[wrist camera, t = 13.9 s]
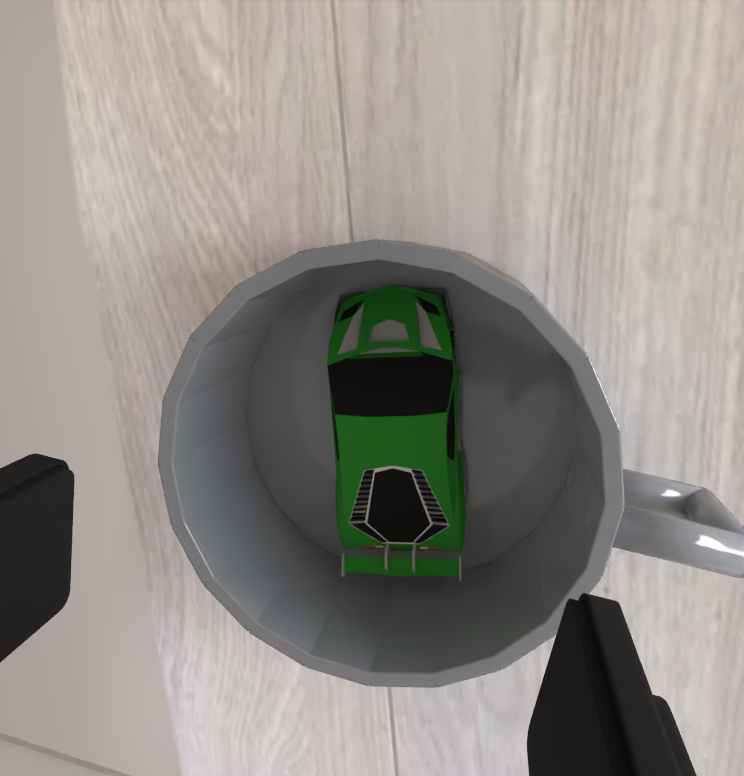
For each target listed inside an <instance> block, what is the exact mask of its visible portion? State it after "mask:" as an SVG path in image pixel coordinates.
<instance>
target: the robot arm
mask: <svg viewBox="0 0 744 776" xmlns="http://www.w3.org/2000/svg"><path fill="white" fill-rule="evenodd" d="M73 499H74V474H73V472H72V471H71V470H69V467H68V465H67V463H66V462H65V461H64V460H60V459H56V458H52V457H48V456H44V455H40V454H31V455H28V456H26V457H24V458H22V459H20V460H17V461H15V462H13V463H11V464H9V465H7V466H5V467H3V468H0V662H1V661H2V660H4V659H5V658H6V657H7V656H8V655H9V654H11V653H12V652H13V651H14V650H15V649H16V648H17V647H18V646H20V645H21V644H22V643H23V642H24V641H26V640H27V639H28V638H29V637H30V636H31V635H32V634H34V633H35V632H36V631H37V630H38V629H40V628H41V627H42V626H43V625H44V624H45V623H46V622H48V621H49V620H50V619H51V618H52V617H53V616H54V615H56V614H57V613H58V612H59V611H60V610H61V609H62V608H63V607H64V605H65V603H66V602H67V599H68V597H69V593H70V580H71V579H70V578H71V554H72V552H71V551H72V525H73ZM527 753H528V766H529V776H696V773H695V771H694V768H693V765H692V763H691V760H690V758H689V755H688V753H687V750H686V748H685V745H684V743H683V740H682V737H681V735H680V732H679V730H678V727H677V725H676V722H675V720H674V717H673V714H672V712H671V709H670V707H669V706H668V704H667V702H666V700H664V699H663V698H662V697H659V696H656V695H652V692H651V689H650V686H649V684H648V681H647V678H646V675H645V673H644V670H643V667H642V664H641V662H640V659H639V656H638V654H637V651H636V648H635V645H634V643H633V640H632V637H631V634H630V632H629V629H628V626H627V623H626V621H625V618H624V615H623V612H622V610H621V607H620V605H619V603H618V602H617V601H614V600H610V599H606V598H602V597H598V596H594V595H590V594H586V593H583V594H581V596H580V597H579V599H578V600H575V599H571V598H570V599H568V601H567V602H566V605H565V608H564V612H563V615H562V618H561V621H560V625H559V628H558V631H557V635H556V638H555V641H554V645H553V648H552V651H551V655H550V658H549V661H548V665H547V668H546V671H545V674H544V678H543V681H542V684H541V688H540V691H539V694H538V698H537V701H536V704H535V708H534V711H533V714H532V717H531V721H530V725H529V729H528V737H527ZM0 776H129V775H127V774H124V773H121V772H117V771H115V770H112V769H108V768H105V767H103V766H100V765H97V764H93V763H90V762H87V761H84V760H81V759H78V758H75V757H72V756H69V755H66V754H63V753H60V752H57V751H54V750H51V749H48V748H45V747H42V746H39V745H36V744H33V743H30V742H27V741H24V740H20V739H18V738H15V737H12V736H8V735H5V734H2V733H0Z"/></svg>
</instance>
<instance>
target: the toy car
mask: <svg viewBox="0 0 744 776" xmlns="http://www.w3.org/2000/svg"><path fill="white" fill-rule="evenodd" d="M334 324H335V326H334V329H333V332H332V336H331V339H330V342H329V350H328V359H327V368H328V377H329V388H330V400H331V412H332V425H333V438H334V451H335V464H336V517H337V526H338V531H339V535H340V539H341V542H342V544H343V547H344V549H352V548H361V549H385V557H369V556H345V552H343V553H342V566H341V575H342V577H345V574H346V572H353V573H364V574H374V575H385V576H395V577H431V576H459V581H462V559H461V556H459V559H433V558H415V555H417V551H420V550H437V551H455V552H460V553H462V549H463V544H464V537H465V522H466V499H465V488H464V480H467V482H468V480H469V479H468V473H467V467H466V461H465V455H464V449H463V450H462V448H463V443H462V448H461V445H460V436H459V427H458V403H460V402H461V401H462V417H464V410H463V382H462V370H458V371H457V369H456V365H457V353H456V337H455V332H454V331H452V330H451V329H454V330H455V328H454V324H453V320H452V315H451V311H450V307H449V303H448V298H447V294H446V290H445V289H437V288H423V287H421V288H420V289H419V290H414V289H409V288H404V287H400V286H391V287H387V286H386V287H380V288H377V289H374V290H372V291H369V292H366V293H364V292H362V291H361V292H356V293H351V294H346V295H341V296H339V299H338V302H337V305H336V309H335V312H334ZM428 347H429V348H428ZM357 348H358V349H357ZM436 514H438V515H436ZM391 550H397V551H412V558H401V557H388V554H390V551H391Z"/></svg>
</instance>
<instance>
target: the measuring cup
mask: <svg viewBox="0 0 744 776" xmlns="http://www.w3.org/2000/svg"><path fill="white" fill-rule="evenodd" d="M386 286H387V287H391V286H400V287H404V288H409V289H414V290H419V289H420V288H421V287H423V288H437V289H445V290H446V294H447V298H448V303H449V307H450V311H451V315H452V320H453V324H454V328H455V330H454V329H451V330H452V331H454V332H455V337H456V353H457V365H456V369H457V371H458V370H462V382H463V410H464V417H462V401H461V402H460V403H458V427H459V436H460V445H461V448H462V443H463V448H462V450H463V449H464V455H465V461H466V467H467V473H468V479H469V480H468V482H467V480H464V488H465V499H466V522H465V537H464V544H463V549H462V553H460V552H455V551H437V550H420V551H417V555H415V558H433V559H459V556H461V559H462V581H459V576H431V577H395V576H385V575H374V574H364V573H353V572H346V574H345V577H342V575H341V566H342V553H343V552H345V556H369V557H385V549H361V548H352V549H344V547H343V544H342V542H341V539H340V535H339V531H338V526H337V517H336V464H335V451H334V438H333V425H332V412H331V400H330V388H329V377H328V368H327V359H328V350H329V342H330V339H331V336H332V332H333V329H334V326H335V324H334V312H335V309H336V305H337V302H338V299H339V296H341V295H346V294H351V293H356V292H361V291H362V292H364V293H366V292H369V291H372V290H374V289H377V288H380V287H386ZM428 348H429V347H428ZM357 349H358V348H357ZM158 467H159V472H160V476H161V481H162V486H163V490H164V495H165V499H166V504H167V508H168V513H169V517H170V522H171V526H173V527H172V529H173V530H174V532H175V534H176V536H177V538H178V540H179V542H180V543H181V545H182V547H183V549H184V551H185V553H186V554H187V556H188V558H189V560H190V562H191V564H192V565H193V567H194V569H195V571H196V573H197V575H198V577H199V578H200V580H201V582H202V583H203V584H204V586H205V587H206V588H207V589H208V590H209V591H210V593H211V594H212V595H213V596H214V597H215V598H216V599H217V600H218V601H219V602H220V603H221V604H222V605H223V606H224V607H225V608H226V609H227V610H228V611H229V612H230V613H231V615H232V616H233V617H234V618H235V619H236V620H237V621H238V622H239V623H240V624H241V625H242V626H243V627H244V628H245V629H246V630H247V631H249V633H250V634H252V635H254V636H255V637H257V638H259V639H260V640H262V641H263V642H265V643H267V644H268V645H270V646H272V647H273V648H275V649H276V650H278V651H280V652H281V653H283V654H285V655H286V656H288V657H290V658H291V659H293V660H294V661H296V662H298V663H299V664H301V665H303V666H306V667H307V668H310V669H313V670H316V671H320V672H323V673H326V674H330V675H333V676H336V677H340V678H343V679H346V680H350V681H353V682H356V683H360V684H363V685H366V686H369V685H370V686H380V687H426V688H435V687H441V686H445V685H449V684H452V683H456V682H460V681H463V680H467V679H471V678H475V677H478V676H482V675H486V674H489V673H493V672H497V671H500V670H502V669H505V668H506V667H508V666H509V665H511V664H512V663H514V662H515V661H517V660H518V659H520V658H522V657H523V656H525V655H526V654H528V653H529V652H531V651H532V650H534V649H535V648H537V647H538V646H540V645H541V644H543V643H545V642H546V641H548V640H549V639H551V638H552V637H554V636H555V635H557V631H558V628H559V625H560V621H561V618H562V615H563V612H564V608H565V605H566V602H567V601H568V599H570V598H571V599H575V600H578V599H579V597H580V596H581V594H583V593H586V594H590V593H591V591H592V590H593V589H594V588H595V586H596V585H597V584H598V582H599V581H600V580H601V578H602V576H603V575H604V572H605V569H606V565H607V562H608V559H609V556H610V553H611V549H612V547H615V548H619V549H623V550H627V551H631V552H635V553H639V554H643V555H647V556H651V557H655V558H659V559H663V560H667V561H671V562H675V563H679V564H683V565H687V566H691V567H695V568H699V569H703V570H707V571H712V572H716V573H720V574H724V575H728V576H732V577H736V578H744V527H743V526H742V524H741V523H740V522H739V521H738V520H737V519H736V518H735V517H734V516H733V515H732V513H731V512H730V511H729V510H728V509H727V508H726V507H725V506H724V505H723V503H722V502H721V501H720V500H719V499H718V498H717V497H716V496H715V495H714V494H713V493H712V492H711V491H710V490H708V489H706V488H704V487H700V486H696V485H691V484H687V483H683V482H678V481H674V480H670V479H665V478H661V477H656V476H652V475H648V474H643V473H639V472H634V471H630V470H626V469H623V464H622V446H621V432H620V427H619V425H618V423H617V420H616V418H615V416H614V413H613V411H612V409H611V406H610V404H609V402H608V399H607V397H606V395H605V392H604V390H603V388H602V385H601V383H600V381H599V378H598V376H597V373H596V371H595V369H594V366H593V364H592V362H591V359H590V358H589V356H588V355H587V353H586V352H585V351H584V350H583V349H582V348H581V347H580V346H579V344H578V343H577V342H576V341H575V340H574V339H573V338H572V337H571V336H570V334H569V333H568V332H567V331H566V330H565V329H564V328H563V327H562V326H561V325H560V323H559V322H558V321H557V320H556V319H555V318H554V317H553V316H552V315H551V314H550V313H549V311H548V310H547V309H546V308H545V307H544V306H543V305H542V304H541V303H540V302H539V300H538V299H537V298H536V297H535V296H534V295H533V294H532V293H531V292H530V291H529V289H528V288H527V287H526V286H525V285H524V284H522V283H521V282H520V281H518V280H516V279H515V278H513V277H511V276H509V275H507V274H506V273H504V272H502V271H500V270H498V269H497V268H495V267H493V266H491V265H489V264H488V263H486V262H484V261H482V260H480V259H478V258H477V257H475V256H473V255H471V254H469V253H466V252H461V251H455V250H450V249H444V248H440V247H433V246H428V245H422V244H417V243H411V242H402V241H392V240H378V239H376V240H369V241H362V242H356V243H349V244H342V245H336V246H329V247H322V248H316V249H309V250H303V251H300V252H298V253H296V254H294V255H292V256H290V257H289V258H287V259H285V260H283V261H281V262H279V263H277V264H275V265H273V266H272V267H270V268H268V269H266V270H264V271H262V272H260V273H258V274H256V275H254V276H253V277H251V278H249V279H247V280H245V281H243V282H241V283H239V284H238V285H237V286H235V287H234V288H233V290H232V291H231V292H230V293H229V294H228V295H227V296H226V297H225V298H224V299H223V300H222V302H221V303H220V304H219V305H218V306H217V307H216V308H215V309H214V310H213V311H212V312H211V314H210V315H209V316H208V317H207V318H206V319H205V320H204V321H203V322H202V323H201V324H200V325H199V327H198V328H197V329H196V330H195V331H194V332H193V333H192V334H191V336H190V338H189V339H188V341H187V344H186V346H185V348H184V351H183V353H182V355H181V358H180V360H179V362H178V365H177V367H176V369H175V372H174V374H173V376H172V379H171V381H170V383H169V386H168V388H167V390H166V393H165V395H164V399H163V405H162V417H161V429H160V441H159V453H158ZM436 515H438V514H436ZM388 557H401V558H412V551H397V550H391V551H390V554H388Z"/></svg>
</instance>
